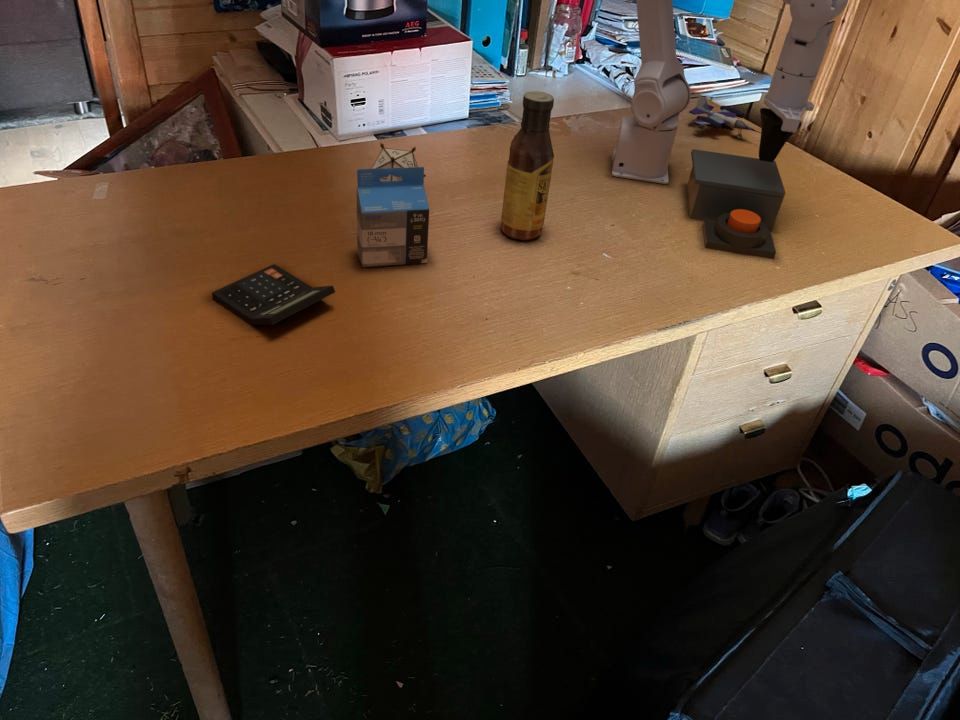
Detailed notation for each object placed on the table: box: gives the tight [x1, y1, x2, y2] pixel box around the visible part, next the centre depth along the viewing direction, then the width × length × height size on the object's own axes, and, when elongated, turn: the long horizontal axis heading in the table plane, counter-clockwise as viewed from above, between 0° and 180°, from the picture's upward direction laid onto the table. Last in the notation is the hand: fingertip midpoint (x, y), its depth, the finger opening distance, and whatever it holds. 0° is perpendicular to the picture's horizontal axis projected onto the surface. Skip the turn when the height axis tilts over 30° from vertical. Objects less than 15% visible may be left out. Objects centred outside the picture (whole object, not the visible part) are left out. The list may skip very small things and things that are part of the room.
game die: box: [370, 142, 427, 181], centre depth 113 cm, size 9×8×10 cm
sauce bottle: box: [500, 90, 555, 241], centre depth 104 cm, size 6×6×20 cm
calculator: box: [211, 263, 336, 326], centre depth 91 cm, size 9×12×3 cm
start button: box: [727, 209, 761, 234], centre depth 111 cm, size 4×4×2 cm
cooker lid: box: [690, 148, 787, 198], centre depth 118 cm, size 13×12×1 cm
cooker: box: [686, 165, 785, 232], centre depth 120 cm, size 13×12×6 cm
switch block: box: [701, 213, 777, 260], centre depth 112 cm, size 10×7×3 cm
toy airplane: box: [688, 95, 761, 140], centre depth 146 cm, size 13×14×4 cm
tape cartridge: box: [356, 166, 430, 268], centre depth 98 cm, size 9×4×12 cm, turn 105°
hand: (765, 159), depth 116 cm, fingers closed
